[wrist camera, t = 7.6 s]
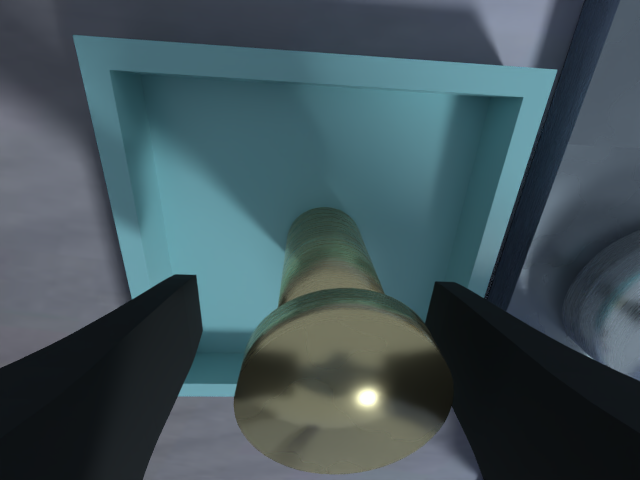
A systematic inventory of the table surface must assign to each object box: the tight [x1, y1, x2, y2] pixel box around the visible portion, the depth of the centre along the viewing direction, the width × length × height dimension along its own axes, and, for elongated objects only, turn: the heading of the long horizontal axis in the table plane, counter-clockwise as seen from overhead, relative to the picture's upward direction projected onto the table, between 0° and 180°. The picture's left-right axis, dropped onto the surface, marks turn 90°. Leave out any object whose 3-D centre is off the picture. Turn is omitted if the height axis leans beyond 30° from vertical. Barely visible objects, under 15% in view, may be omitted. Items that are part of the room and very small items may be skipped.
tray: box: [73, 35, 557, 396], centre depth 13 cm, size 14×14×2 cm
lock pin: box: [234, 207, 454, 474], centre depth 10 cm, size 4×4×8 cm
